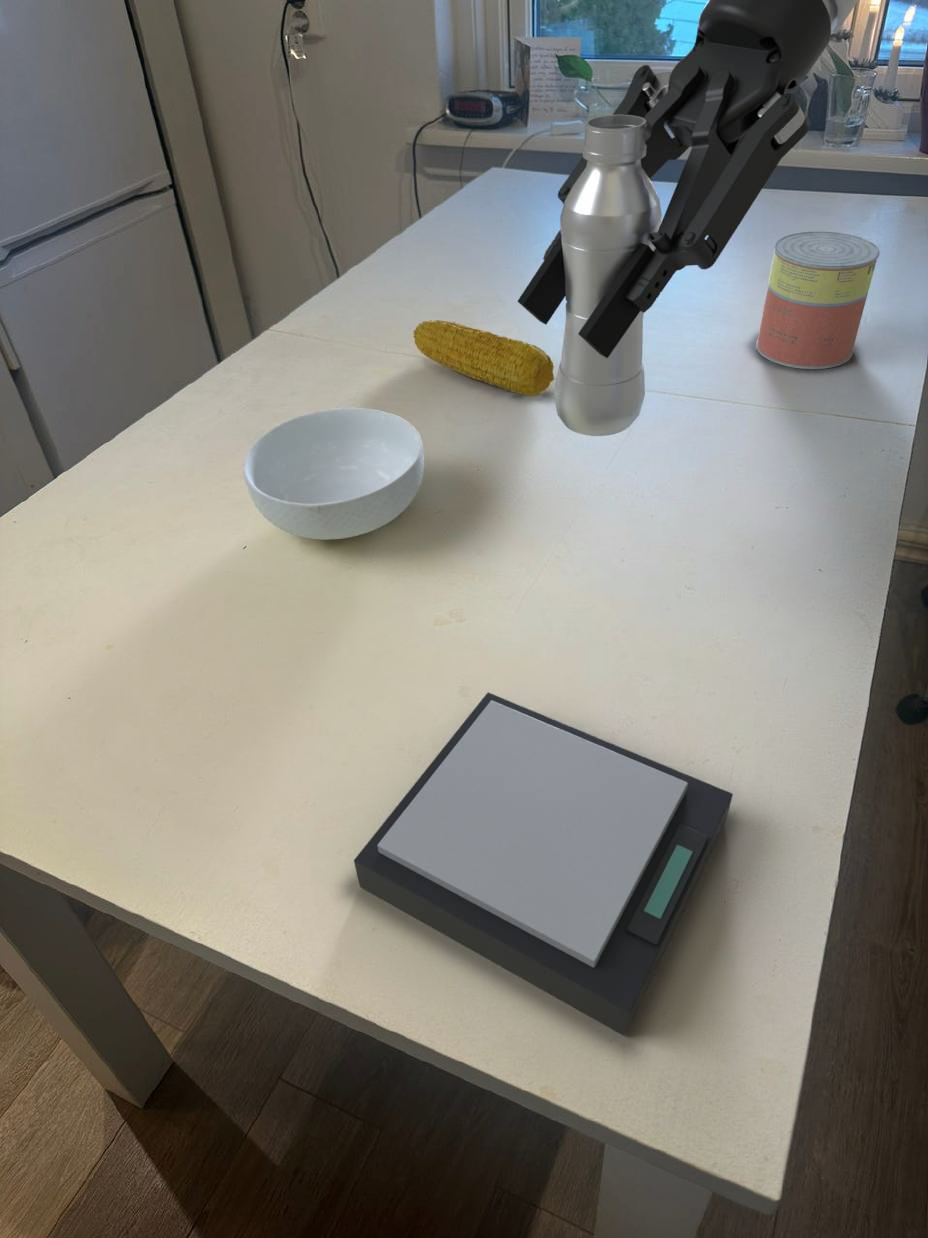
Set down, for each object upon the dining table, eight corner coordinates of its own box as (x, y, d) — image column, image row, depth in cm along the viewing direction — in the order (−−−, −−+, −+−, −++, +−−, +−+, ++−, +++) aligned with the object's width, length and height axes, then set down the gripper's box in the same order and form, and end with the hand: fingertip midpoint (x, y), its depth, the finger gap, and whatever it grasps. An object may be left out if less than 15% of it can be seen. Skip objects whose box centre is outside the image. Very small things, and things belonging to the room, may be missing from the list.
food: (560, 391, 102) (561, 343, 98) (529, 410, 99) (529, 361, 95) (430, 344, 113) (426, 299, 109) (399, 360, 110) (394, 314, 106)
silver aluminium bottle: (536, 433, 64) (539, 129, 51) (581, 395, 68) (594, 104, 55) (615, 456, 61) (639, 140, 48) (657, 415, 65) (690, 113, 52)
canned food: (872, 360, 104) (901, 257, 96) (787, 375, 102) (810, 272, 94) (818, 323, 112) (840, 225, 104) (738, 337, 110) (755, 239, 102)
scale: (725, 821, 57) (735, 785, 55) (625, 1037, 47) (631, 1005, 45) (489, 719, 65) (487, 683, 62) (359, 887, 55) (351, 853, 52)
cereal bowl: (310, 456, 94) (298, 395, 89) (454, 481, 89) (450, 419, 84) (223, 547, 82) (204, 484, 77) (383, 582, 77) (374, 516, 72)
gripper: (650, -58, 57) (450, 258, 61) (901, -43, 44) (626, 350, 49) (700, 29, 62) (513, 313, 67) (936, 64, 50) (685, 408, 54)
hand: (561, 328), depth 58 cm, fingers closed on silver aluminium bottle, 6 cm apart
